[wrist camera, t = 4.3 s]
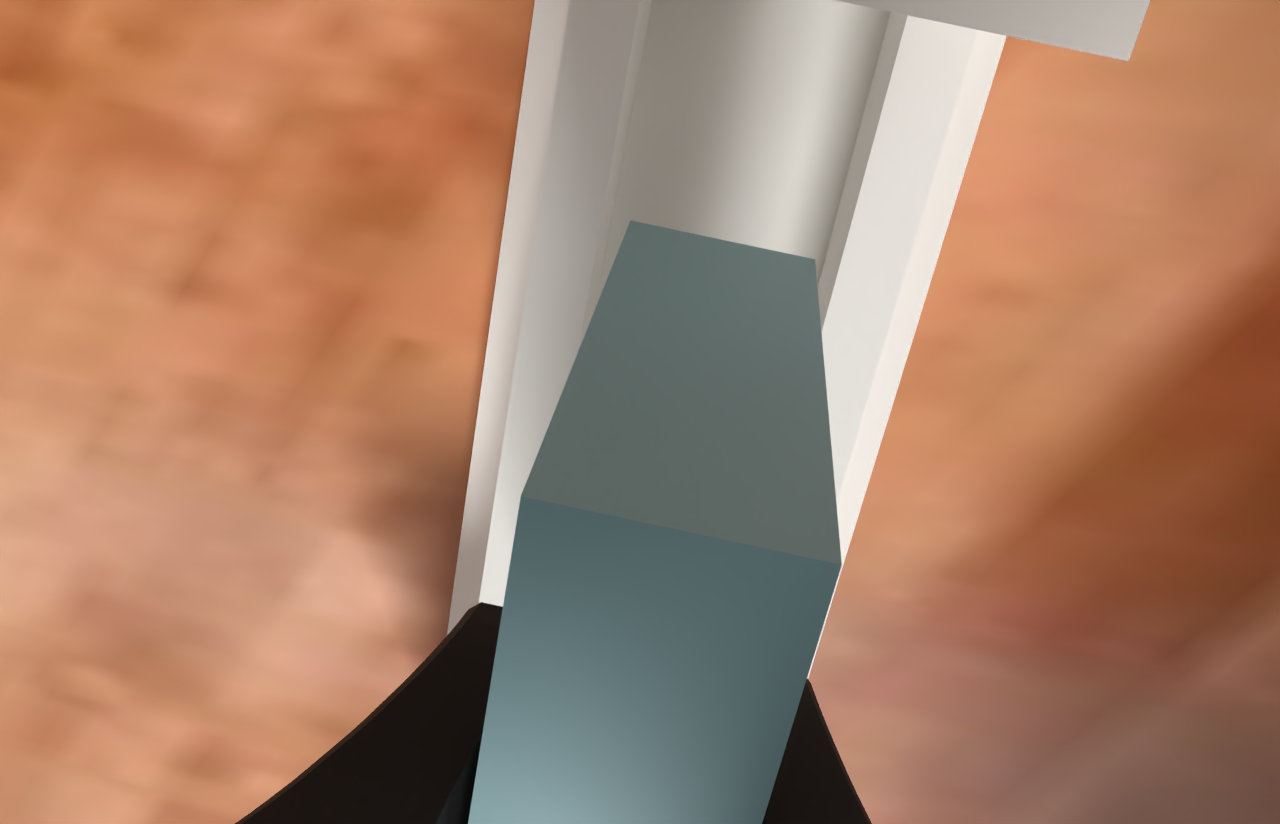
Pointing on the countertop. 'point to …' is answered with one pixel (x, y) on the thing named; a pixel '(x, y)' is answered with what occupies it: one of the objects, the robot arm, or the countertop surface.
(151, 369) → the countertop surface
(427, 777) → the robot arm
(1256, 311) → the countertop surface
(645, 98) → the track
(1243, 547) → the countertop surface
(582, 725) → the rectangular block
